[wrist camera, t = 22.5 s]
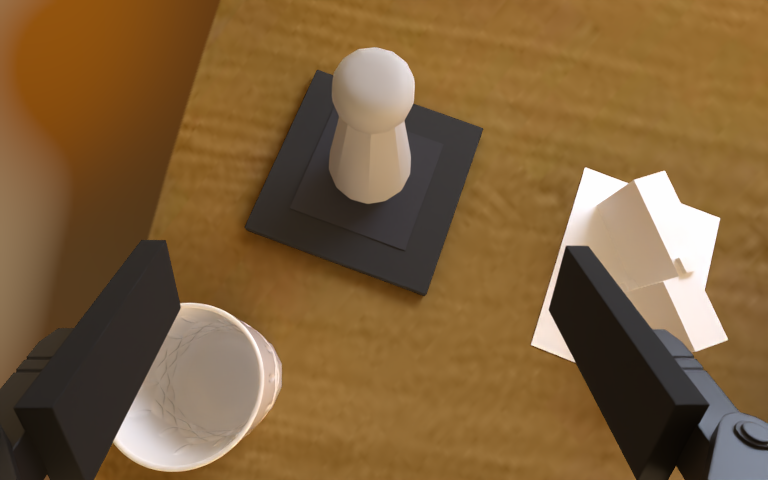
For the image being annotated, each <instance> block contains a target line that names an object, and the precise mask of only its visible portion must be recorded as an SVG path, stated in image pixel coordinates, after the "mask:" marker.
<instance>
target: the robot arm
mask: <svg viewBox="0 0 768 480" xmlns="http://www.w3.org/2000/svg"><path fill="white" fill-rule="evenodd" d="M180 309H181V306H180V301H179V297H178V292H177V288H176V284H175V279H174V275H173V270H172V266H171V261H170V257H169V252H168V248H167V243H166V240H141V241H140V243H139V244H138V245H137V246H136V248H135V249H134V250H133V252H132V253H131V254H130V256H129V257H128V258H127V260H126V261H125V262H124V263H123V265H122V266H121V267H120V269H119V270H118V271H117V273H116V274H115V275H114V277H113V278H112V279H111V280H110V282H109V283H108V284H107V286H106V287H105V288H104V290H103V291H102V292H101V294H100V295H99V296H98V298H97V299H96V300H95V301H94V303H93V304H92V306H91V307H90V308H89V309H88V311H87V312H86V313H85V315H84V316H83V317H82V318H81V320H80V321H79V322H78V324H77V325H76V326H75V328H58V329H57V330H55V331H54V332H52V333H51V334H50V335H48V336H47V337H45V338H44V339H42V340H41V341H40V342H39V343H38V344H37V345H36V346H35V348H34V349H33V350H32V351H31V353H30V354H29V355H28V356H27V359H26V360H24V361H23V362H22V364H21V365H20V366H19V367H18V368H17V371H16V373H13V374H12V375H11V377H10V378H9V379H8V380H7V381H6V383H5V384H4V385H3V386H2V388H1V389H0V480H44V478H45V477H46V475H48V476H49V478H50V480H94V478H95V476H96V474H97V472H98V470H99V468H100V466H101V464H102V462H103V461H104V459H105V457H106V455H107V453H108V451H109V449H110V447H111V445H112V443H113V441H114V439H115V437H116V435H117V433H118V431H119V429H120V427H121V425H122V423H123V421H124V419H125V417H126V415H127V413H128V411H129V409H130V407H131V405H132V403H133V401H134V399H135V397H136V396H137V394H138V392H139V390H140V388H141V386H142V384H143V382H144V380H145V378H146V376H147V374H148V372H149V370H150V368H151V366H152V364H153V362H154V360H155V358H156V356H157V354H158V352H159V350H160V348H161V346H162V344H163V342H164V340H165V338H166V336H167V334H168V332H169V331H170V329H171V327H172V325H173V323H174V321H175V319H176V317H177V315H178V313H179V311H180ZM549 312H550V314H551V316H552V318H553V320H554V322H555V324H556V326H557V327H558V329H559V331H560V333H561V335H562V337H563V339H564V341H565V343H566V345H567V347H568V349H569V351H570V353H571V354H572V356H573V358H574V360H575V362H576V364H577V366H578V368H579V370H580V372H581V374H582V376H583V378H584V380H585V381H586V383H587V385H588V387H589V389H590V391H591V393H592V395H593V397H594V399H595V401H596V403H597V405H598V407H599V408H600V410H601V412H602V414H603V416H604V418H605V420H606V422H607V424H608V426H609V428H610V430H611V432H612V434H613V435H614V437H615V439H616V441H617V443H618V445H619V447H620V449H621V451H622V453H623V455H624V457H625V459H626V461H627V462H628V464H629V466H630V468H631V470H632V472H633V474H634V476H635V478H636V480H668V479H669V477H670V475H671V473H672V472H673V470H674V468H675V466H677V468H678V469H679V471H680V472H681V474H682V476H683V477H684V479H685V480H768V424H767V423H766V422H764V421H762V420H760V419H758V418H757V417H754V416H751V415H748V414H745V413H740V412H739V411H738V409H737V408H736V407H735V406H734V405H733V403H732V402H731V401H730V400H729V398H728V397H727V396H726V395H725V394H724V392H723V391H722V390H721V389H720V387H719V386H718V385H717V384H716V383H715V381H714V380H713V379H712V378H711V376H710V375H709V374H708V373H707V372H706V371H704V370H703V367H702V365H701V364H700V363H699V362H698V361H697V359H694V356H693V354H692V353H691V352H690V351H689V350H688V348H687V347H686V346H685V345H684V343H683V342H682V341H680V340H679V339H678V338H676V337H675V336H673V335H672V334H671V333H669V332H668V331H667V330H665V329H652V328H651V327H650V326H649V324H648V323H647V322H646V321H645V319H644V318H643V317H642V315H641V314H640V313H639V311H638V310H637V309H636V308H635V306H634V305H633V304H632V302H631V301H630V300H629V298H628V297H627V296H626V294H625V293H624V292H623V291H622V289H621V288H620V287H619V285H618V284H617V283H616V281H615V280H614V279H613V278H612V276H611V275H610V274H609V272H608V271H607V270H606V268H605V267H604V266H603V264H602V263H601V262H600V261H599V259H598V258H597V257H596V255H595V254H594V253H593V251H592V250H591V249H590V247H589V246H566V247H565V251H564V254H563V258H562V262H561V266H560V269H559V273H558V277H557V280H556V284H555V288H554V291H553V295H552V299H551V302H550V306H549Z"/></svg>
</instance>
